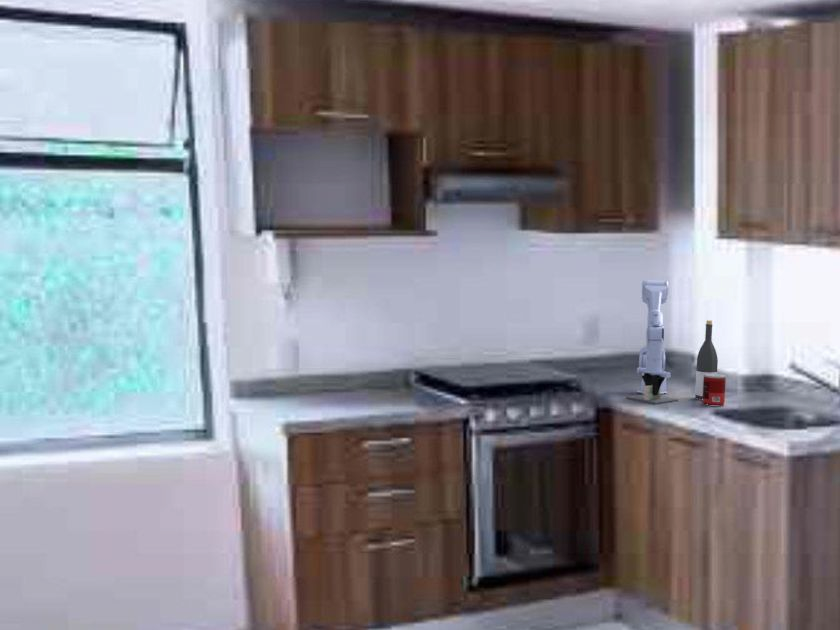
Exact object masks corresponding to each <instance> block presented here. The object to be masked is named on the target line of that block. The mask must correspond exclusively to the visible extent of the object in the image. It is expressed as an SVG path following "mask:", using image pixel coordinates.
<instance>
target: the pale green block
mask: <svg viewBox="0 0 840 630" xmlns="http://www.w3.org/2000/svg"><path fill="white" fill-rule="evenodd" d="M660 392H661V386H660V389H659V392H658V395H653V386H652V385H649V386H644V394H643V395H644V400H653V399H660V396H661V394H660Z"/></svg>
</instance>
